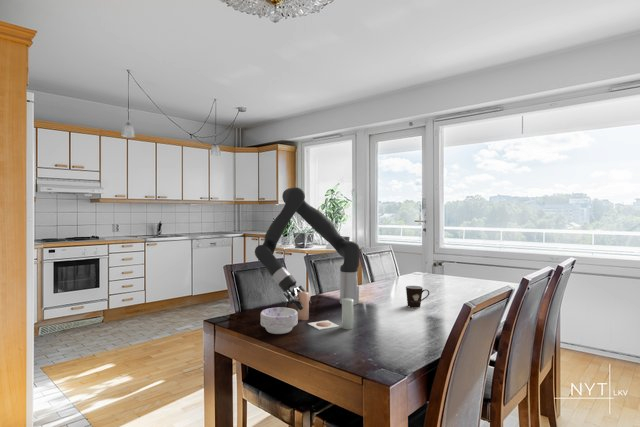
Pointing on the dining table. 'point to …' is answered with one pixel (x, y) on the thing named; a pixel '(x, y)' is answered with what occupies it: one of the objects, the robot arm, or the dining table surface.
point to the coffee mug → (415, 295)
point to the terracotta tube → (304, 300)
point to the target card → (323, 325)
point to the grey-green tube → (347, 313)
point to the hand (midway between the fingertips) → (306, 306)
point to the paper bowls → (279, 319)
